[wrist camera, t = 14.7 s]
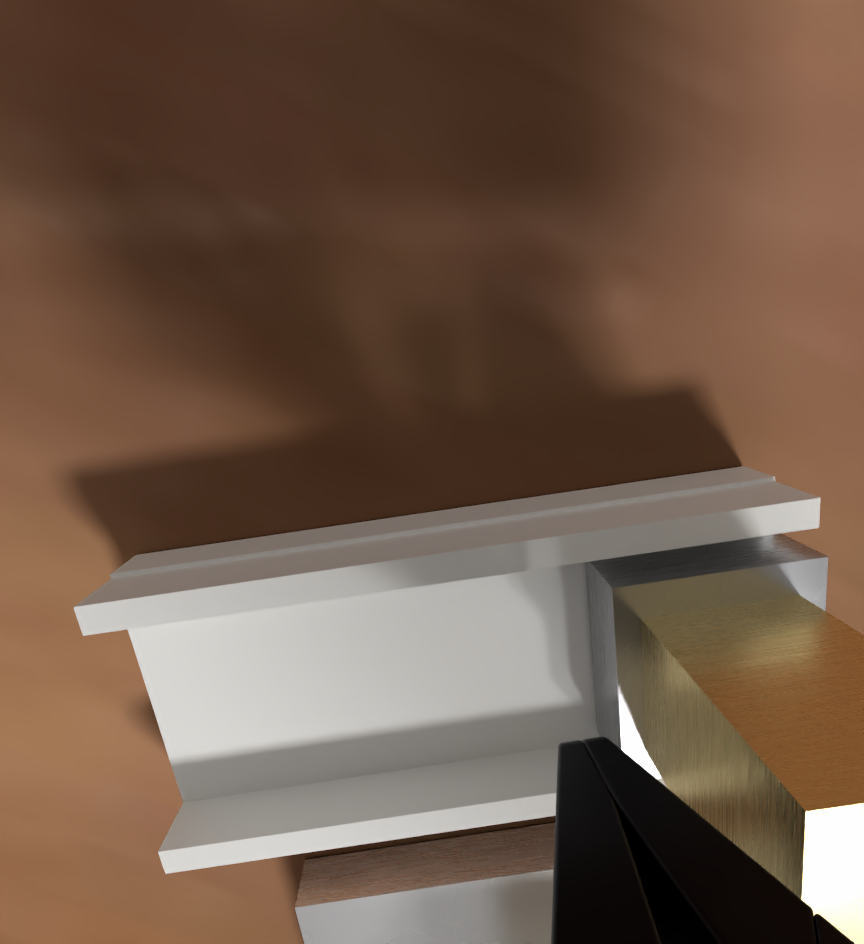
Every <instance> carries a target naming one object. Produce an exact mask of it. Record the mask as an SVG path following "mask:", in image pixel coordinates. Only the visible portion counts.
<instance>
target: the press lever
mask: <svg viewBox="0 0 864 944" xmlns="http://www.w3.org/2000/svg"><path fill="white" fill-rule="evenodd" d="M585 568H586V582H587V596H588V609H589V623H590V637H591V651H592V665H593V679H594V693H595V707H596V720H597V731H598V733H599V735H600V737H601V736H603V737H606V738H608V739H609V740H611V741H612V742H613V743H614V744H615V745H617V746H618V747H619V748H620V749H621V750H623V751H624V752H625V753H626V754H627V755H629V756H630V757H631V758H632V759H633V760H635V761H636V762H637V763H638V764H639V765H641V766H642V767H643V768H644V769H645V770H647V771H648V772H649V773H650V774H651V775H653V776H654V777H655V778H656V779H663V781H664V783H665V784H666V786H667V788H668V789H669V790H671V791H672V792H673V793H674V794H675V795H677V796H678V797H679V798H680V799H681V800H683V801H684V802H685V803H686V804H687V805H689V806H690V807H691V808H692V809H693V810H695V811H696V812H697V813H698V814H699V815H701V816H702V817H703V818H704V819H705V820H707V821H708V822H709V823H710V824H711V825H713V826H714V827H715V828H716V829H717V830H719V831H720V832H721V833H722V834H723V835H725V836H726V837H727V838H728V839H729V840H731V841H732V842H733V843H734V844H735V845H737V846H738V847H739V848H740V849H741V850H743V851H744V852H745V853H746V854H747V855H749V856H750V857H751V858H752V859H753V860H755V861H756V862H757V863H758V864H760V865H761V866H762V867H763V868H764V869H766V870H767V871H768V872H769V873H770V874H772V875H773V876H774V877H775V878H776V879H778V880H779V881H780V882H781V883H782V884H784V885H785V886H786V887H787V888H788V889H790V890H791V891H792V892H793V893H794V894H796V895H797V896H798V897H799V898H800V899H802V900H803V901H804V902H805V903H806V904H808V905H809V906H810V907H811V908H812V909H813V913H814V915H815V914H820V915H821V916H822V917H824V918H825V919H826V920H827V921H828V922H830V923H831V924H832V925H833V926H834V927H836V928H837V929H838V930H839V931H840V932H842V933H843V934H844V935H845V936H846V937H848V938H849V939H850V940H851V941H852V942H854V943H855V944H864V635H862V634H861V633H859V632H858V631H856V630H854V629H853V628H851V627H850V626H848V625H846V624H845V623H843V622H842V621H840V620H838V619H837V618H835V617H834V616H832V615H830V614H829V613H827V612H826V611H825V608H826V590H827V571H828V556H826V555H824V554H822V553H820V552H818V551H815V550H813V549H811V548H809V547H807V546H805V545H803V544H801V543H799V542H797V541H795V540H793V539H791V538H789V537H787V536H785V535H783V534H781V533H780V534H773V535H767V536H760V537H753V538H746V539H739V540H733V541H726V542H719V543H712V544H705V545H699V546H692V547H685V548H678V549H671V550H664V551H658V552H651V553H644V554H637V555H630V556H624V557H617V558H610V559H603V560H596V561H590V562H585Z"/></svg>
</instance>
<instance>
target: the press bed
mask: <svg viewBox="0 0 864 944" xmlns="http://www.w3.org/2000/svg"><path fill="white" fill-rule="evenodd" d="M554 844H555V823H549V824H542V825H535V826H529V827H522V828H515V829H509V830H502V831H495V832H488V833H482V834H475V835H468V836H462V837H455V838H448V839H441V840H435V841H428V842H421V843H415V844H408V845H401V846H395V847H388V848H381V849H374V850H368V851H361V852H354V853H348V854H341V855H334V856H327V857H321V858H314V859H307V860H305V862H304V866H303V871H302V876H301V881H300V885H299V890H298V895H297V900H296V904H295V910H296V914H297V918H298V921H299V925H300V929H301V933H302V936H303V940H304V944H551V926H552V899H553V871H554Z"/></svg>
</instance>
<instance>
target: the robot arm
mask: <svg viewBox="0 0 864 944" xmlns="http://www.w3.org/2000/svg"><path fill="white" fill-rule="evenodd" d="M551 944H855V943H854V942H852V941H851V940H850V939H849V938H848V937H846V936H845V935H844V934H843V933H842V932H840V931H839V930H838V929H837V928H836V927H834V926H833V925H832V924H831V923H830V922H828V921H827V920H826V919H825V918H824V917H822V916H821V915H820V914H815V915H814V913H813V909H812V908H811V907H810V906H809V905H808V904H806V903H805V902H804V901H803V900H802V899H800V898H799V897H798V896H797V895H796V894H794V893H793V892H792V891H791V890H790V889H788V888H787V887H786V886H785V885H784V884H782V883H781V882H780V881H779V880H778V879H776V878H775V877H774V876H773V875H772V874H770V873H769V872H768V871H767V870H766V869H764V868H763V867H762V866H761V865H760V864H758V863H757V862H756V861H755V860H753V859H752V858H751V857H750V856H749V855H747V854H746V853H745V852H744V851H743V850H741V849H740V848H739V847H738V846H737V845H735V844H734V843H733V842H732V841H731V840H729V839H728V838H727V837H726V836H725V835H723V834H722V833H721V832H720V831H719V830H717V829H716V828H715V827H714V826H713V825H711V824H710V823H709V822H708V821H707V820H705V819H704V818H703V817H702V816H701V815H699V814H698V813H697V812H696V811H695V810H693V809H692V808H691V807H690V806H689V805H687V804H686V803H685V802H684V801H683V800H681V799H680V798H679V797H678V796H677V795H675V794H674V793H673V792H672V791H671V790H669V789H668V788H667V787H666V786H665V785H663V784H662V783H661V782H660V781H659V780H657V779H656V778H655V777H654V776H653V775H651V774H650V773H649V772H648V771H647V770H645V769H644V768H643V767H642V766H641V765H639V764H638V763H637V762H636V761H635V760H633V759H632V758H631V757H630V756H629V755H627V754H626V753H625V752H624V751H623V750H621V749H620V748H619V747H618V746H617V745H615V744H614V743H613V742H612V741H611V740H609V739H608V738H606V737H603V736H601V737H594V738H588V739H584V740H583V741H581V740H574V741H568V742H561V743H560V744H559V745H558V762H557V789H556V817H555V844H554V871H553V899H552V926H551Z"/></svg>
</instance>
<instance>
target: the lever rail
mask: <svg viewBox="0 0 864 944" xmlns="http://www.w3.org/2000/svg"><path fill="white" fill-rule="evenodd" d="M819 517H820V497H817V496H814V495H812V494H809V493H806V492H803V491H800V490H798V489H795V488H792V487H789V486H786V485H784V484H781V483H778V482H775V477H774V476H771V475H768V474H765V473H763V472H760V471H757V470H754V469H751V468H748V467H745V466H741V467H735V468H728V469H721V470H714V471H707V472H700V473H693V474H687V475H680V476H673V477H666V478H659V479H652V480H646V481H639V482H632V483H625V484H618V485H611V486H605V487H598V488H591V489H584V490H577V491H570V492H563V493H557V494H550V495H543V496H536V497H529V498H522V499H516V500H509V501H502V502H495V503H488V504H481V505H475V506H468V507H461V508H454V509H447V510H440V511H434V512H427V513H420V514H413V515H406V516H399V517H392V518H386V519H379V520H372V521H365V522H358V523H351V524H345V525H338V526H331V527H324V528H317V529H310V530H304V531H297V532H290V533H283V534H276V535H269V536H262V537H256V538H249V539H242V540H235V541H228V542H221V543H215V544H208V545H201V546H194V547H187V548H180V549H174V550H167V551H160V552H153V553H146V554H139V555H135V556H134V557H133V558H131V559H130V560H128V561H127V562H126V563H124V564H123V565H122V566H120V567H119V568H118V569H116V570H115V571H113V572H112V573H111V574H110V576H111V579H110V580H109V581H107V582H106V583H105V584H103V585H102V586H101V587H99V588H98V589H97V590H95V591H94V592H93V593H91V594H90V595H89V596H87V597H86V598H85V599H83V600H82V601H81V602H79V603H78V604H77V605H75V606H74V607H73V608H74V611H75V614H76V616H77V619H78V622H79V625H80V628H81V631H82V634H83V636H85V635H92V634H99V633H106V632H113V631H120V630H126V629H128V632H129V635H130V638H131V641H132V644H133V647H134V651H135V654H136V657H137V660H138V663H139V666H140V669H141V672H142V675H143V679H144V682H145V685H146V688H147V691H148V694H149V697H150V700H151V704H152V707H153V710H154V713H155V716H156V719H157V722H158V725H159V728H160V732H161V735H162V738H163V741H164V744H165V747H166V750H167V753H168V757H169V760H170V763H171V766H172V769H173V772H174V775H175V778H176V782H177V785H178V788H179V791H180V794H181V797H182V800H183V804H182V806H181V808H180V810H179V812H178V814H177V816H176V818H175V820H174V822H173V823H172V825H171V827H170V829H169V831H168V833H167V835H166V837H165V839H164V841H163V843H162V845H161V847H160V849H159V851H158V854H159V857H160V859H161V862H162V865H163V868H164V871H165V874H168V873H174V872H181V871H188V870H194V869H201V868H208V867H215V866H221V865H228V864H235V863H241V862H248V861H255V860H262V859H268V858H275V857H282V856H288V855H295V854H302V853H309V852H315V851H322V850H329V849H335V848H342V847H349V846H355V845H362V844H369V843H376V842H382V841H389V840H396V839H402V838H409V837H416V836H423V835H429V834H436V833H443V832H449V831H456V830H463V829H470V828H476V827H483V826H490V825H496V824H503V823H510V822H517V821H523V820H530V819H537V818H543V817H550V816H556V789H557V762H558V745H559V744H560V743H561V742H568V741H574V740H581V741H583V740H584V739H588V738H594V737H600V735H599V733H598V731H597V720H596V707H595V693H594V679H593V665H592V651H591V637H590V623H589V609H588V596H587V582H586V568H585V562H590V561H596V560H603V559H610V558H617V557H624V556H630V555H637V554H644V553H651V552H658V551H664V550H671V549H678V548H685V547H692V546H699V545H705V544H712V543H719V542H726V541H733V540H739V539H746V538H753V537H760V536H767V535H773V534H780V533H787V532H794V531H801V530H807V529H814V528H819ZM657 780H659V781H660V782H661V783H662V784H663V785H665V786H666V784H665V783H664V781H663V779H657ZM666 787H667V786H666Z"/></svg>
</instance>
